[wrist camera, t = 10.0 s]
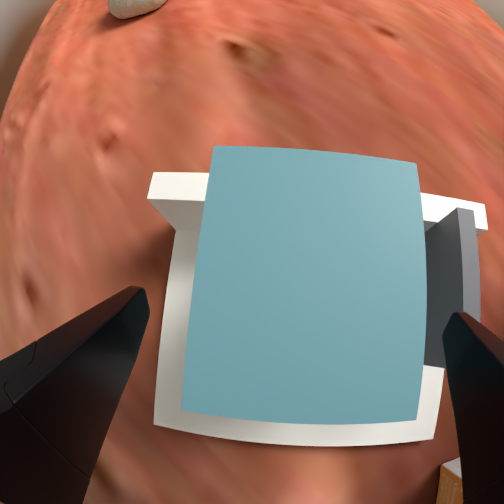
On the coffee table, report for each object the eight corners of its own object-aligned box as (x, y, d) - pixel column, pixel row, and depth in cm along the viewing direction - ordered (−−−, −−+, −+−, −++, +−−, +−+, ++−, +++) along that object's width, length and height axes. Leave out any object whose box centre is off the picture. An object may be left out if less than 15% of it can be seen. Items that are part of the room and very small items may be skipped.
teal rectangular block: (327, 367, 17) (416, 420, 5) (241, 361, 17) (180, 410, 6) (334, 265, 18) (415, 159, 7) (250, 259, 19) (214, 142, 7)
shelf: (426, 435, 16) (491, 472, 8) (158, 420, 17) (97, 460, 10) (438, 236, 19) (503, 189, 12) (184, 214, 21) (139, 152, 13)
